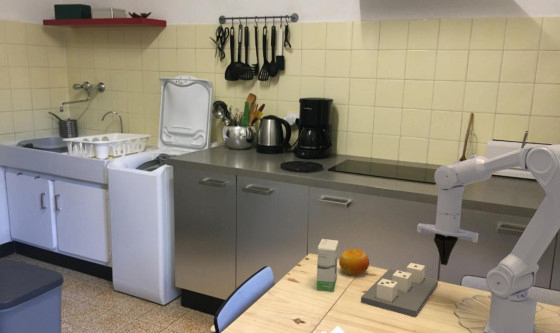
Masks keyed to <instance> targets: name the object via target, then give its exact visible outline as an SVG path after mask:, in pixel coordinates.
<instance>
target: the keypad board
mask: <svg viewBox="0 0 560 333" xmlns="http://www.w3.org/2000/svg"><path fill="white" fill-rule="evenodd" d="M396 271H397V270H396V269H392V268H391V269H390V268H389V269H387V270H386V272H385V273H383V275H381V276H380V278H379V279H377V280H376V281H375V282H374V284H372V285H371V286H370V287H369V288H368V290H366V291H365V292H364V294H362V295H361V297H360V303H361V304H366V305H370V306H374V307H377V308H381V309H385V310H387V311H391V312H396V313H399V314H403V315H407V316H410V317H414V318H417V316H418V315H419V313H420V312H421V310H422V309H423V307H424V306H425V305H426V303H427V301H428V300H429V298H430V297H431V295H432V294H433V293H434V292H435V289H436V288H437V286H438V284H439V279H436V278H432V277H427V276H424V281H423V282H422V284H417V283H413V282H411V289H410V291H409V292H408V293H404V292H400V291H397V298H396V299H395V301H394V302H393V303H391V302H387V301H384V300H380V299H376V296H377V284H378V283H379V282H380V281H381V280H382V279H387V280H391V281H392V275H393V274H394V273H395V272H396Z"/></svg>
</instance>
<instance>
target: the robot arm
mask: <svg viewBox="0 0 560 333" xmlns="http://www.w3.org/2000/svg"><path fill="white" fill-rule="evenodd" d="M518 167H520V168H521V169H522V170H525V171H526V170H528V171H529V172H530V173H531V175H532V177H534V179H535V180H536V181H537V183H539V184H538V185H539V186H541V188H542V189H543V190H544V193H545V197H544V198H543V200H542V202H540V205H539V207H538V208H537V209H536V211H535V213H534V215H533V216H532V218H531V219H530V220H529V223H528V224H527V226H526V227H525V229H524V231H523V232H522V234H521V236H520V237H519V239H518V241H517V242H516V244H515V245H514V247H513V248H512V250H511V252H510V253H509V254H508V255H506V256H505V257H504V258H503V259H502V260H501V261H499V263H498V264H497V266H496V267H494V268H492V269H490V270H489V271H488V273H487V274H486V277H485V279H486V285H487V287H488V289H489V290H490V295H491V297H490V305H489V306H490V307H489V314H488V316H489V317H488V319H487V322H486V324H485V327H484V329H483V330H484V331H483V332H484V333H535V332H536V328H537V327H536V325H537V324H535V321H536V313H537V304H538V300H537V299H535V298H532V297H530V296H529V289H531V288H533V286H534V285H535V283H536V277H537V272H538V270H540V266H539V264H538V262H539V260H540V259H541V257H542V256H543V254H544V253H545V251H546V250H547V249H548V247H549V245H550V244H551V242H552V241H553V239H554V238H555V236H556V234H557V233H558V231H559V229H560V143H558V144H551V145H543V144H542V145H541V144H540V145H535V146H532V147H523V148H518V149H515V150H512V151H509V152H506V153H503V154H500V155H497V156H494V157H491V158H488V157H485V156H483V155H478V154H472V155H470V156H469V159H466V160H465V159H464V160H463V161H461V160H456V161H454V162H453V164H449V165H448V164H447V165H446V164H443V165H441V166H439V167H438V168H436V170H435V172H434V182H435V184H436V186H437V187H438V189H437V190H438V191H437V202H436V214H435V215H436V216H435V224H427V223H420V222H419V223H418V224H417V227H416V232H417V233H419V234H421V233H423V234H430V235H434V237H433V241H434V244H435V246H436V247H437V248H436V249H437V251H438V256H439V261H440V265H443V266H447V265H448V264H449V259H450V256H451V253H452V251H453V250H454V247H455V245H456V243H457V242H458V241H459V240H463V241H469V242H472V243H475V244H476V243H478V241H479V232H475V231H469V230H467V229H463V228H460V226H461V216H462V214H461V212H462V205H463V204H462V203H463V193H464V192H465V187H466V186H467V185H471V184H475V183H480V182H484V181H487V180H490V179H491V177H492V175H493V173H495V172H501V171H505V170H509V169H510V170H511V169H514V168H518Z"/></svg>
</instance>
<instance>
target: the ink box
mask: <svg viewBox="0 0 560 333" xmlns="http://www.w3.org/2000/svg"><path fill="white" fill-rule="evenodd" d="M338 253H339V240H336V239H327V238H321V240H320V242H319V243H318V245H317V264H316V290H318V291H326V292H327V291H328V292H334V291H335V289H336V284H337V278H338V276H337V275H338V260H339V257H338V255H339V254H338Z"/></svg>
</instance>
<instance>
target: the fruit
mask: <svg viewBox="0 0 560 333" xmlns="http://www.w3.org/2000/svg"><path fill="white" fill-rule="evenodd" d="M338 260H339V261H338V263H339V267H340V270H342V271H343V272H344V273H345V274H347V275H351V276H360V275H362V274H365V273H366V272H367V271H368V269H369V267H370V259H369V257H368V254H366V252H365V251H364V250H362V249H359V248H349V249H346V250H345V251H343V252H342V253H341V255H340V257H339V258H338Z"/></svg>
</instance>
